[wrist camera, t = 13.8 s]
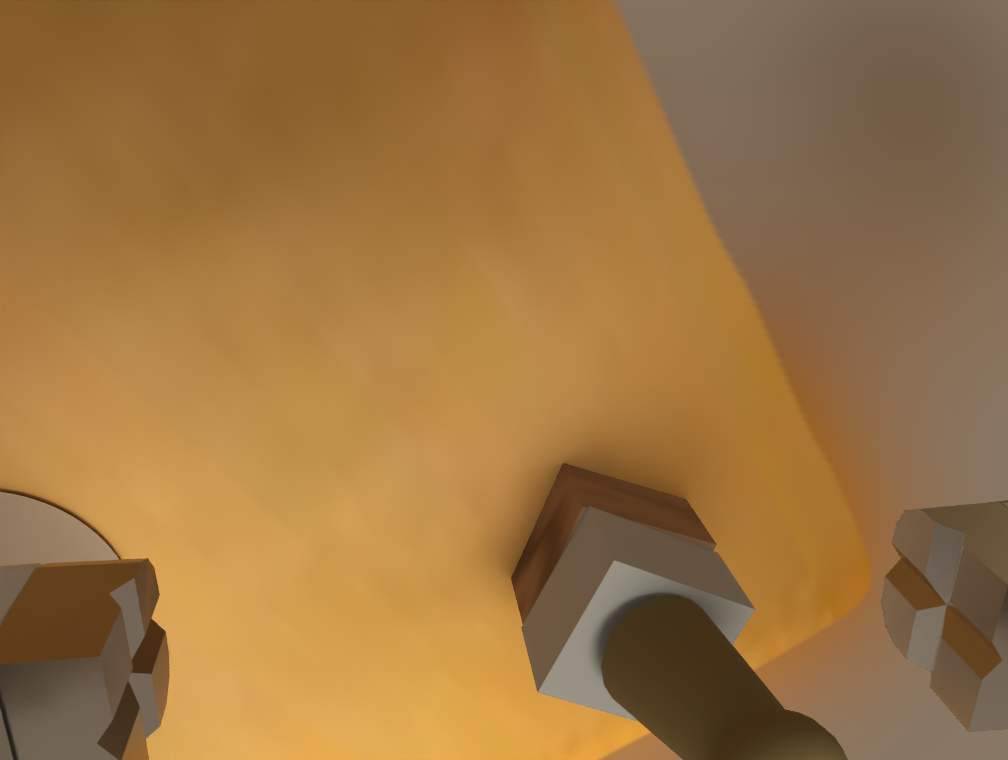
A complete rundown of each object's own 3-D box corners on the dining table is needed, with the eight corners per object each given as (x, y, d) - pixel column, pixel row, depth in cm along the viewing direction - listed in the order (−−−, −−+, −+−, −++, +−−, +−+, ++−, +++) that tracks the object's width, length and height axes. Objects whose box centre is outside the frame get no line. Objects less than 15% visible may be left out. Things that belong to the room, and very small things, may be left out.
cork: (577, 661, 40) (714, 832, 30) (671, 570, 41) (836, 708, 31) (644, 732, 43) (791, 911, 33) (732, 645, 43) (902, 795, 33)
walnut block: (630, 607, 54) (654, 661, 49) (510, 577, 52) (524, 630, 47) (685, 498, 51) (716, 544, 47) (562, 461, 49) (582, 506, 45)
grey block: (647, 666, 49) (675, 732, 45) (521, 627, 47) (537, 692, 42) (717, 552, 47) (755, 609, 42) (589, 506, 45) (614, 560, 40)
